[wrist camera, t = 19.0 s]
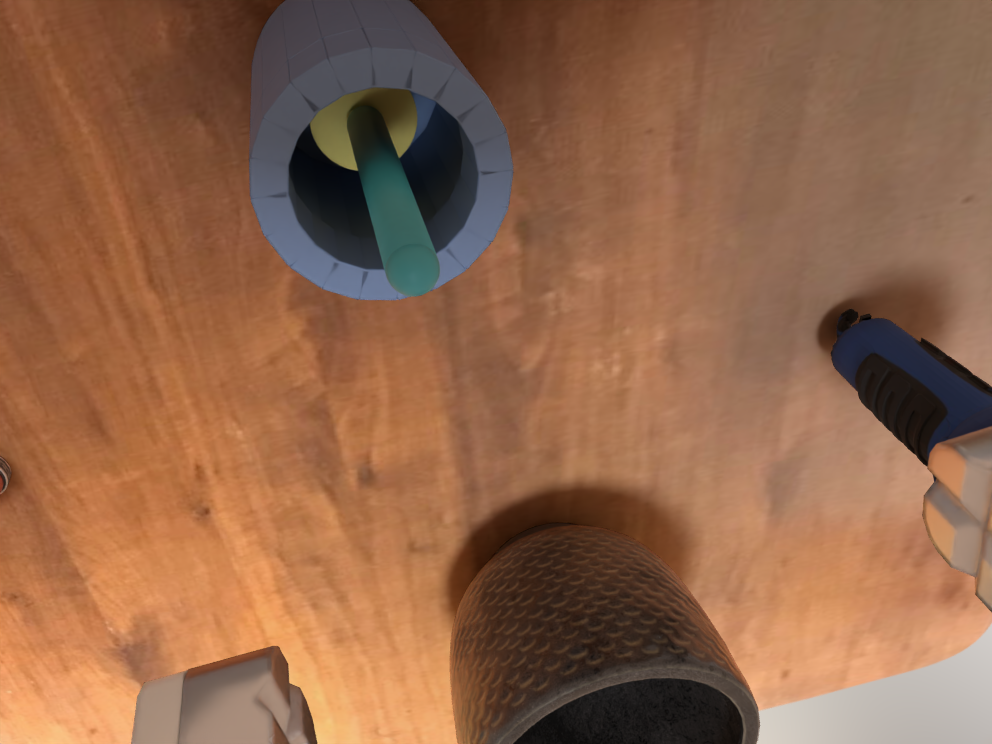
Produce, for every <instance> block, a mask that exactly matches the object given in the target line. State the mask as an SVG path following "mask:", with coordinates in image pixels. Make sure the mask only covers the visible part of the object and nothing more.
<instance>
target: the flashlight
mask: <svg viewBox="0 0 992 744" xmlns="http://www.w3.org/2000/svg"><path fill="white" fill-rule="evenodd" d="M857 318H858V312H855V311H854V310H853V309H849V310H847V311H845V312H844V313H842V314H841V316H840V317H839V319H838V323H837V340H836V342H835V344H834V345H833V350H832V351H831V356H832V362H833V365H834V367H835V369H836V370H837V371H838V372H839V373H840V374H841V375H842V376H843V377H844V378H845V379H846V380H847V381H848V382H849V383H850V384H851V385H852V386H853V387H854V388H855V389H856V390H857V391H858V395H859V399H860V400H861V402H862V403H863V404H864V406H865V407H866V408H868V409H869V410H870V411H872V412H873V414H874V415H875V417H876V418H877V419H878V420H879V421H880V422H882V423H883V424H884V426H885V427H886V428H887V429H888V430H889V431H891V432H892V433H893V435H894V436H895V437H896V438H897V439H898V440H899V441H901V442H902V443H904V445H905V446H906V447H907V448H908V449H909V450H910V451H911V452H912V453H914V454H915V455H916V456H917V457H918V459H919V460H920V461H921V462H922V463H923V464H924V465H926V466H927V467H928V461H929V454H930V452H931V450H932V449H933V448H934V446H935V445H936V444H937V443H940V442H943V441H946V440H949V439H953V438H956V437H959V436H962V435H965V434H968V433H972V432H975V431H978V430H981V429H984V428H987V427H990V426H992V387H991V386H990V385H989V384H987V383H986V382H984V381H983V380H981V379H980V378H978V377H977V376H975V375H973V374H972V373H971V372H970V371H969V370H968V369H967V368H965V367H964V366H962V365H961V364H960V363H958V362H957V361H955V360H954V359H952V358H951V357H949V356H947V355H946V354H945V353H944V352H942V351H941V350H940V349H938V348H937V347H936V346H934V345H933V344H931V343H930V342H928V341H927V340H925V339H923V338H921V342H919V341H918V340H916V339H915V338H913V337H912V336H911V335H909V334H908V333H907V332H905V331H904V330H902V329H901V328H900V327H898V326H897V325H896V324H894V323H893V322H891V321H890V320H887V319H882V318H875V319H871V315H870V314H866V315H862V316H860V320H859V323H857V324H854V325H852V326H851V324H852V323H854V322H855V321H856V320H857ZM933 478H934V482H935V481H936V479H937V478H936V477H935V476H934V475H933Z"/></svg>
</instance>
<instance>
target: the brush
mask: <svg viewBox="0 0 992 744" xmlns="http://www.w3.org/2000/svg"><path fill="white" fill-rule="evenodd" d="M416 128H417V109H416V104H415V101H414V98H413V96H412V94H411V92H410V91H409V90H405V89H391V88H376V87H374V88H370V89H366V90H362V91H358V92H355V93H351V94H347V95H344V96H342V97H341V98H339V99H338V100H336V101H335V102H333V103H332V104H330V105H328V106H327V107H325V108H324V109H322V110H321V111H319V112H318V113H317V115H316V116H315V117H314V118H313V120H312V121H311V122H310V129H311V133H312V135H313V138H314V140H315V142H316V144H317V146H318V147H319V148H320V150H321V151H322V152H323V153H324V154H325V155H326V156H327V157H328V158H329V159H330V160H331V161H333V162H334V163H336V164H338V165H340V166H342V167H344V168H347V169H350V170H356V171H358V172H359V176H360V179H361V183H362V187H363V191H364V194H365V198H366V202H367V206H368V210H369V213H370V217H371V221H372V225H373V228H374V232H375V236H376V240H377V243H378V247H379V251H380V255H381V259H382V262H383V266H384V270H385V274H386V277H387V280H388V282H389V283H390V285H391V286H392V287H393V288H394V289H395V290H396V291H397V292H399V293H400V294H403V295H405V296H420V295H423V294H425V293H427V292H429V291H430V290H431V289H432V288H433V287H434V286H435V285H436V283H437V281H438V278H439V275H440V264H439V260H438V257H437V254H436V252H435V249H434V247H433V244H432V242H431V239H430V236H429V234H428V231H427V229H426V226H425V224H424V221H423V218H422V216H421V213H420V211H419V208H418V206H417V203H416V200H415V198H414V195H413V193H412V190H411V187H410V185H409V182H408V180H407V177H406V175H405V172H404V169H403V167H402V164H401V162H400V159H399V158H400V157H401V156H402V155H403V154H404V153H405V152H406V150H407V149H408V147H409V146H410V144H411V142H412V140H413V138H414V135H415V132H416Z"/></svg>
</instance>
